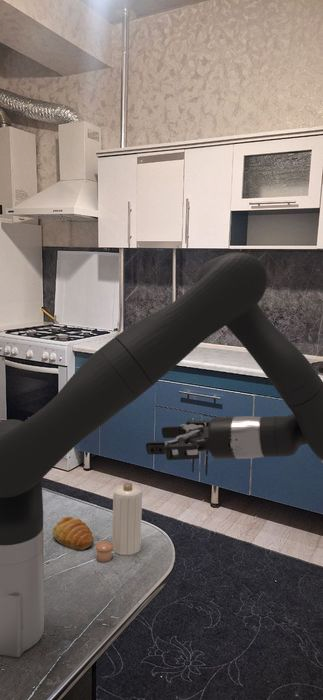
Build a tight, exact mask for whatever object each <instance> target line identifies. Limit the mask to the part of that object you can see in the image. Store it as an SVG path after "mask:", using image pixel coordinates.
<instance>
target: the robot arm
mask: <svg viewBox="0 0 323 700" xmlns="http://www.w3.org/2000/svg"><path fill="white" fill-rule="evenodd" d="M267 287H268V272H267V269H266V266H265V265H264V263H263V262H262V261H261V260H260V259H259V258H258V257H256V256H254V255H252V254H250V253H247V252H239V251H238V252H229V253H225V254H223V255H219V256H217V257H215V258H211V259H210V260H208V261H207V262H205V263H204V264H203V265H202V266H201V268H199V271H198V273H197V276H196V279H195V283H194V285H193V286H191V287H190V288H189V289H188V290H187V291H186V292H185V293H183V295H181V296H180V297H178V298H177V299H176V300H174V301H172V303H170V304H168V305H166V306H165V307H163V308H161V309H159V310H157V311H155V312H153V313H151V314H149V315H148V316H146V317H144V318H142V319H141V320H139V321H137V322H136V323H133V324H132V325H130V326H129V327H127V328H126V329H124V330H122V331H121V332H120V333H118V334H117V335H116V336H114V337H113V338H112V339H110V340H109V341H107V342H106V343H105V344H104V345H103V346H101V347H100V348H99V349H98V350H96V351H95V352H94V353H92V354H91V356H90V357H88V358H87V359H86V360H85V361H84V362H83V363H82V364H81V366H80V367H78V369H77V370H76V371H75V372H74V373H73V375H72V376H71V377H70V378H69V379H68V381H67V382H66V383H65V384H64V385H63V387H62V388H61V389H60V390H59V391H58V393H57V394H56V395H55V396H54V397H53V398H52V399H51V400H49V402H48V403H47V404H45V406H43V407H42V408H41V409H40V410H38V411H37V412H35V413H34V414H32V415H31V416H29V417H28V418H26V420H24V421H23V420H20V419H13V418H11V419H3V420H1V421H0V656H1V655H2V656H5V657H6V656H8V657H14V658H19V657H21V656H22V654H23V653H24V652H25V651H27V650H29V649H31V648H32V647H34V646H35V645H36V644H38V642H39V641H40V640H41V638H42V637H43V635H44V631H45V596H44V595H45V588H44V587H45V586H44V585H45V581H44V580H45V577H44V575H45V573H44V572H45V569H44V567H45V565H44V564H45V563H44V503H43V501H44V500H43V499H44V498H43V497H44V496H43V478H44V477H46V475H47V474H48V473H50V471H52V470H53V468H54V467H56V466H57V465H58V463H60V461H61V460H62V459H63V458H65V456H67V455H68V454H69V453H70V452H71V450H72V449H74V448H75V447H76V446H77V445H78V444H79V443H81V442H82V441H83V440H85V439H86V438H87V437H88V436H89V435H91V434H92V433H93V432H94V431H96V430H97V429H99V428H100V427H102V425H104V424H106V422H108V421H109V420H110V419H112V418H113V417H114V416H116V415H117V414H118V413H119V412H120V411H122V410H123V409H124V408H126V407H127V406H128V405H130V404H131V403H133V402H134V401H135V400H137V399H138V398H140V397H141V395H143V394H144V393H145V392H146V391H148V390H149V389H150V388H152V387H153V386H154V385H155V384H156V383H158V382H159V380H161V379H162V378H163V377H165V375H167V374H168V373H169V372H170V371H172V369H174V368H175V367H176V366H177V365H178V364H180V363H181V362H182V361H183V360H184V359H185V358H186V357H187V356H188V355H190V354H191V352H193V350H195V349H196V348H197V347H198V346H199V345H201V343H203V342H204V341H205V340H206V339H208V338H209V337H210V336H212V335H214V334H215V333H216V332H218V331H219V330H221V329H222V328H224V327H226V328H227V329H228V330H229V331H230V333H232V334H233V336H234V337H236V339H237V340H238V341H239V342H240V343H241V345H242V346H243V347H244V348H245V350H246V351H247V352H248V353H249V355H251V357H252V359H254V361H255V362H256V364H257V365H258V366H259V368H260V369H261V370H262V371H263V373H264V374H265V376H266V377H267V378H268V380H269V382H270V383H271V384H272V386H273V388H274V389H275V390H276V391H277V393H278V395H279V396H280V397H281V399H282V400H283V402H284V403H285V404H286V406H287V407H288V408H289V409H290V411H291V412H292V414H289V415H282V416H281V415H277V416H251V415H249V416H248V415H246V416H245V415H244V416H222V417H221V416H220V417H213V418H211V419H210V420H187V421H186V422H185V423H181V424H180V425H173V426H172V425H170V426H168V425H167V426H163V427H162V428H161V436H162V438H164V439H171V440H165V441H163V440H162V441H148V442H147V443H145V448H146V449H145V450H146V453H147V455H165V457H166V458H165V459H166V460H167V461H174V460H175V461H178V460H197V459H199V458H200V453H202V452H204V451H208V452H209V453H210V455H211V457H212V458H213V459H215V460H233V459H234V460H235V459H236V460H238V459H239V460H240V459H241V460H242V459H243V460H245V459H247V460H248V459H249V460H250V459H257V458H269V457H271V458H272V457H273V458H275V457H276V458H279V457H281V458H282V457H290V456H293V455H295V454H296V453H297V452H298V450H299V448H300V447H302V446H303V445H306V444H307V445H308V447H309V448H310V449H311V451H312V452H313V453H314V455H315V456H316V457H317V458H318V459H320V460H321V461H323V380H322V378H321V376H320V375H319V373H317V370H316V369H315V368H314V367H313V365H312V364H311V362H310V361H309V359H308V358H307V357H306V356H305V355H304V354H303V353H302V352H301V350H300V349H299V348H298V347H296V345H295V344H294V343H292V342H291V340H289V339H288V337H286V336H285V335H284V334H283V333H282V332H281V331H280V330H279V329H278V328H277V327H276V326H275V325H274V324H273V323H272V321H271V320H270V319H269V318H268V316H267V315H266V314H265V313H264V311H263V310H262V308H261V306H260V305H259V303H260V301H261V300H262V298H263V297H264V295H265V292H266V290H267Z"/></svg>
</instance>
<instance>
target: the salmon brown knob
mask: <svg viewBox="0 0 323 700" xmlns="http://www.w3.org/2000/svg"><path fill="white" fill-rule="evenodd" d="M95 550H96V556H95V557H96V560H97V561H99V562H102V563H106V562H109V561H111V560H112V558H113V544H112V542H111V541H108V540H100V541H98V542H96V544H95Z"/></svg>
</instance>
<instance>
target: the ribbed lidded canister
mask: <svg viewBox="0 0 323 700" xmlns="http://www.w3.org/2000/svg"><path fill="white" fill-rule="evenodd" d="M142 507H143V491H142V487H141V486H139V485H138V484H134V483H131V482H124V483H122V484H118V485H116V486H115V487H114V489H113V492H112V542H111V543H112V544H113V548H112V551H113V552H115V553H116V554H118V555H121V556H131V555H136V554H137V553H138V552H140V551H141V548H142V518H143V517H142V515H143V512H142V511H143V508H142Z"/></svg>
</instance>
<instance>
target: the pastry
mask: <svg viewBox="0 0 323 700" xmlns="http://www.w3.org/2000/svg"><path fill="white" fill-rule="evenodd" d="M52 534H53V536H54V538H55V540H56V541H57V542H58V543H59V544H60V545H62V546H65V547H67V548H70V549H73V550H77V551H78V550H79V551H83V550H86V549H87V548H91V546H92V545H93V542H94V540H95V538H94V536H93V532H92V531H91V529H90V527H89V526H88V524H86V523H85V521H82V520H81V519H80V518H74V517H73V516H65V517H62V518H61V519H60V520H59V521H57V523H56V524H55V526H54V528H53V530H52Z"/></svg>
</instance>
